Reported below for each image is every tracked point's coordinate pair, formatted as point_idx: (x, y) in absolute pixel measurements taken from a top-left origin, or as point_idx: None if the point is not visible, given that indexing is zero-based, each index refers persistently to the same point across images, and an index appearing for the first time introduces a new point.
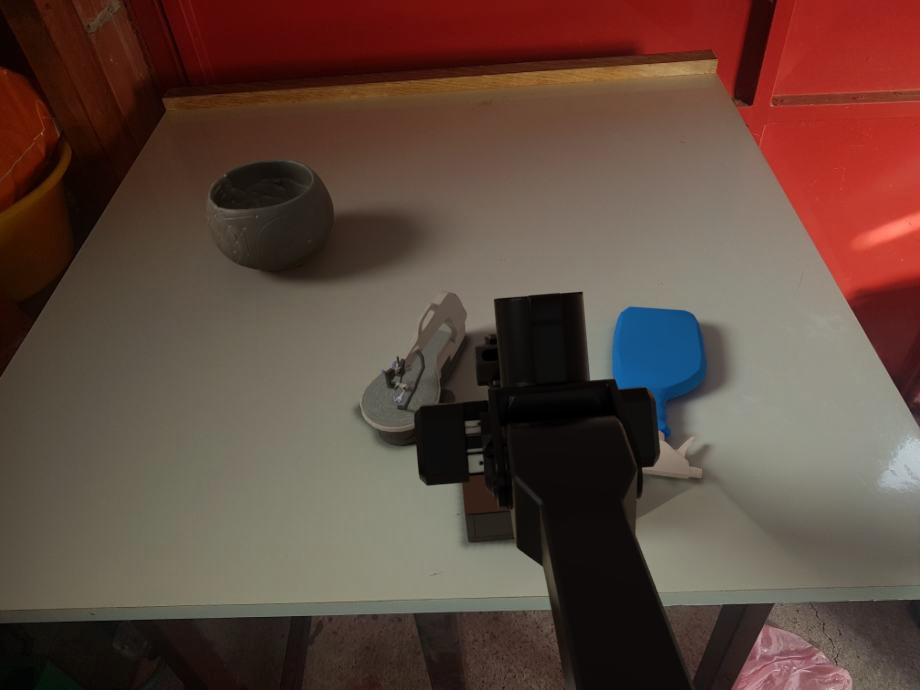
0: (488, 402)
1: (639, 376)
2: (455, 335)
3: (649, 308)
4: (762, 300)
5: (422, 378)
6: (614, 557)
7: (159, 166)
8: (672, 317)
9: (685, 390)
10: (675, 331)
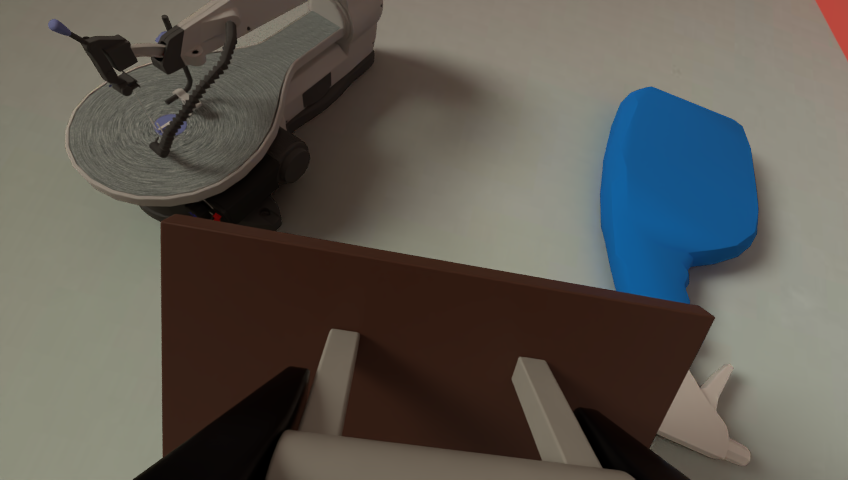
0: (312, 254)
1: (656, 215)
2: (350, 38)
3: (681, 99)
4: (810, 139)
5: (245, 97)
6: None
7: None
8: (714, 125)
9: (719, 261)
10: (719, 150)
